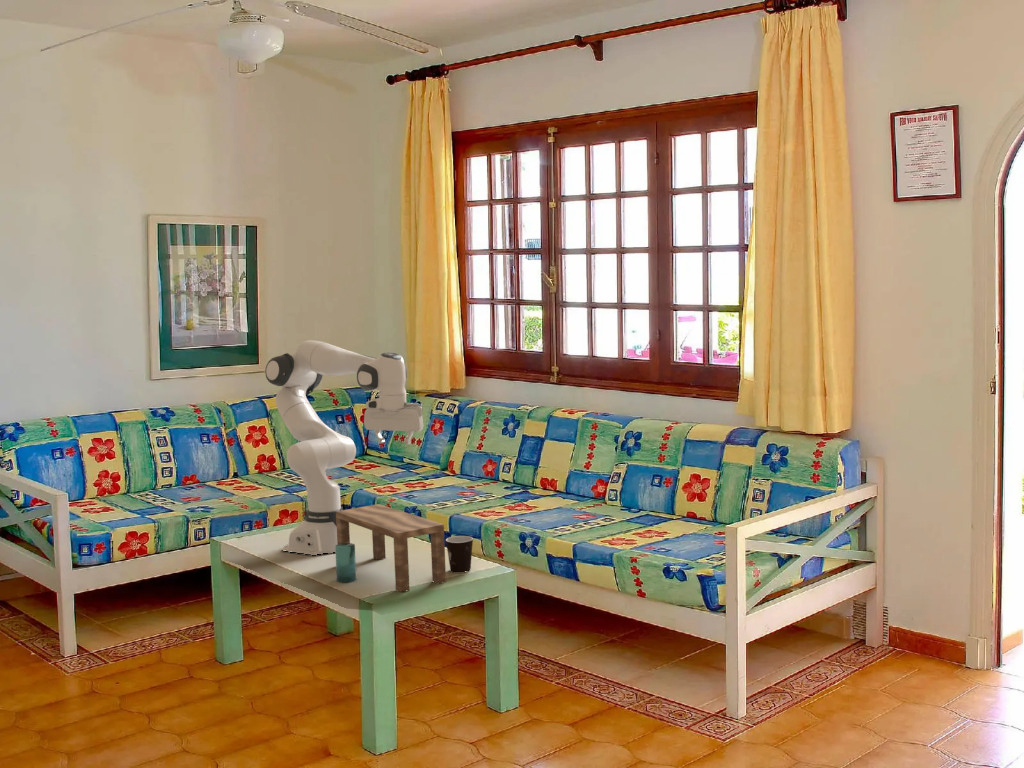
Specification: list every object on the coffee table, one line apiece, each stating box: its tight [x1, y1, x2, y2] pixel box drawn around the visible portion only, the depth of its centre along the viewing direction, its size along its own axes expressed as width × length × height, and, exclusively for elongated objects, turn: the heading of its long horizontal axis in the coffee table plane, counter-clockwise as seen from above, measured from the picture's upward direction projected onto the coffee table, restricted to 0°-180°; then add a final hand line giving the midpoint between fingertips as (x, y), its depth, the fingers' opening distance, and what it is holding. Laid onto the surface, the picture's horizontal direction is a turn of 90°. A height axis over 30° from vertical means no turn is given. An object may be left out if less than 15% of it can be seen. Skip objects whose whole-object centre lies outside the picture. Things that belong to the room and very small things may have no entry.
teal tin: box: [335, 542, 357, 584], centre depth 334 cm, size 6×6×11 cm
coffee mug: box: [445, 535, 474, 573], centre depth 339 cm, size 12×9×10 cm
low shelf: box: [336, 503, 447, 593], centre depth 339 cm, size 16×40×18 cm, turn 36°
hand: (394, 443), depth 354 cm, fingers open, 8 cm apart
